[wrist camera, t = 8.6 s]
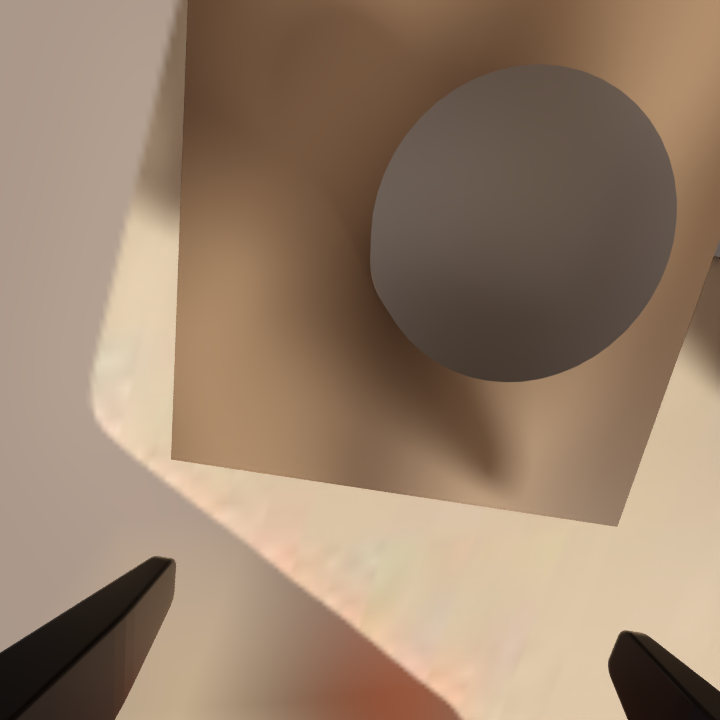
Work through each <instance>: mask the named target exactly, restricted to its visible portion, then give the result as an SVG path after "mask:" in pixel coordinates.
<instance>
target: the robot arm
mask: <svg viewBox="0 0 720 720" xmlns="http://www.w3.org/2000/svg"><path fill="white" fill-rule="evenodd" d="M175 573H176V563H175V560H174V559H172V558H166V557H160V556H154V557H151V558H150V559H148V560H146V561H145V562H143V563H142V564H140V565H138V566H137V567H135V568H134V569H132V570H130V571H129V572H127V573H126V574H124V575H123V576H121V577H119V578H118V579H116V580H115V581H113V582H111V583H110V584H108V585H107V586H105V587H103V588H102V589H100V590H99V591H97V592H96V593H94V594H92V595H91V596H89V597H88V598H86V599H85V600H83V601H81V602H80V603H78V604H77V605H75V606H74V607H72V608H70V609H69V610H67V611H66V612H64V613H62V614H61V615H59V616H58V617H56V618H54V619H53V620H51V621H50V622H48V623H47V624H45V625H43V626H42V627H40V628H39V629H37V630H35V631H34V632H33V633H31V634H29V635H27V636H26V637H24V638H23V639H21V640H20V641H18V642H16V643H15V644H13V645H12V646H10V647H9V648H7V649H5V650H4V651H2V652H1V653H0V720H115V718H116V716H117V715H118V713H119V711H120V709H121V707H122V706H123V704H124V702H125V699H126V698H127V696H128V694H129V692H130V690H131V688H132V686H133V684H134V682H135V679H136V677H137V675H138V673H139V671H140V669H141V667H142V665H143V663H144V660H145V658H146V656H147V654H148V652H149V650H150V648H151V646H152V644H153V642H154V639H155V637H156V635H157V633H158V631H159V629H160V627H161V625H162V622H163V621H164V618H165V616H166V614H167V612H168V610H169V608H170V606H171V603H172V600H173V596H174V588H175ZM608 669H609V674H610V677H611V680H612V682H613V684H614V687H615V689H616V692H617V694H618V697H619V699H620V702H621V704H622V707H623V709H624V712H625V714H626V717H627V719H628V720H720V691H718V690H717V689H716V688H715V687H713V686H712V685H711V684H709V683H708V682H707V681H706V680H704V679H703V678H702V677H700V676H699V675H698V674H697V673H695V672H694V671H693V670H691V669H690V668H689V667H688V666H686V665H685V664H684V663H682V662H681V661H680V660H679V659H677V658H676V657H675V656H674V655H672V654H671V653H670V652H668V651H667V650H666V649H665V648H663V647H662V646H661V645H659V644H658V643H657V642H656V641H654V640H653V639H652V638H650V637H649V636H648V635H646V634H643V633H639V632H633V631H622V632H621V633H620V634H619V636H618V638H617V640H616V643H615V645H614V648H613V650H612V653H611V655H610V658H609V661H608Z"/></svg>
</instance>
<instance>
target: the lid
mask: <svg viewBox="0 0 720 720" xmlns="http://www.w3.org/2000/svg"><path fill="white" fill-rule="evenodd" d="M719 240H720V0H188V15H187V42H186V70H185V97H184V124H183V151H182V178H181V206H180V233H179V260H178V287H177V315H176V342H175V369H174V396H173V423H172V451H171V459H172V460H178V461H185V462H192V463H198V464H205V465H212V466H218V467H225V468H231V469H238V470H245V471H251V472H258V473H265V474H271V475H278V476H285V477H291V478H298V479H304V480H311V481H318V482H324V483H331V484H338V485H344V486H351V487H357V488H364V489H371V490H377V491H384V492H391V493H397V494H404V495H410V496H417V497H424V498H430V499H437V500H444V501H450V502H457V503H463V504H470V505H477V506H483V507H490V508H497V509H503V510H510V511H516V512H523V513H530V514H536V515H543V516H550V517H556V518H563V519H569V520H576V521H583V522H589V523H596V524H603V525H609V526H616V527H617V526H618V523H619V520H620V517H621V514H622V512H623V509H624V506H625V503H626V501H627V498H628V495H629V492H630V489H631V487H632V484H633V481H634V478H635V475H636V473H637V470H638V467H639V464H640V461H641V459H642V456H643V453H644V450H645V447H646V445H647V442H648V439H649V436H650V433H651V431H652V428H653V425H654V422H655V419H656V417H657V414H658V411H659V408H660V405H661V403H662V400H663V397H664V394H665V391H666V389H667V386H668V383H669V380H670V377H671V375H672V372H673V369H674V366H675V363H676V361H677V358H678V355H679V352H680V349H681V347H682V344H683V341H684V338H685V335H686V333H687V330H688V327H689V324H690V321H691V319H692V316H693V313H694V310H695V307H696V305H697V302H698V299H699V296H700V293H701V291H702V288H703V285H704V282H705V279H706V277H707V274H708V271H709V268H710V265H711V263H712V260H713V257H714V254H715V251H716V249H717V246H718V243H719Z"/></svg>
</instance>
